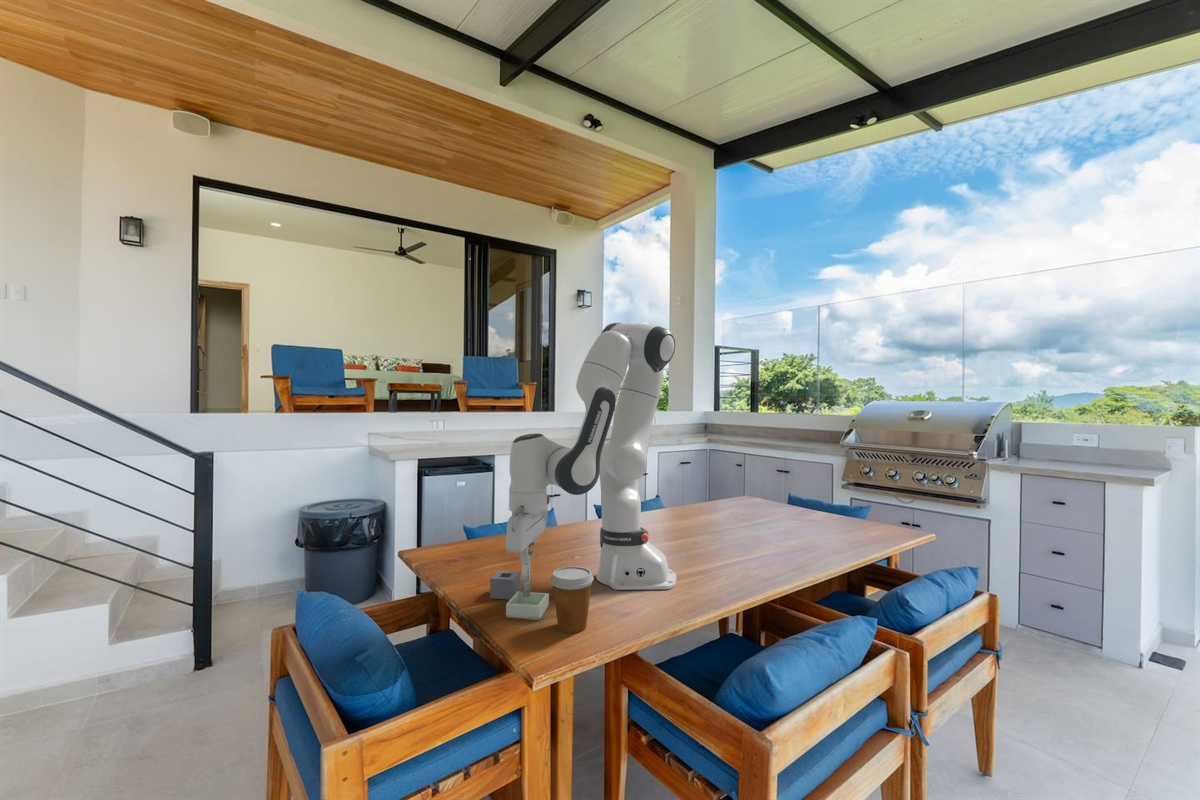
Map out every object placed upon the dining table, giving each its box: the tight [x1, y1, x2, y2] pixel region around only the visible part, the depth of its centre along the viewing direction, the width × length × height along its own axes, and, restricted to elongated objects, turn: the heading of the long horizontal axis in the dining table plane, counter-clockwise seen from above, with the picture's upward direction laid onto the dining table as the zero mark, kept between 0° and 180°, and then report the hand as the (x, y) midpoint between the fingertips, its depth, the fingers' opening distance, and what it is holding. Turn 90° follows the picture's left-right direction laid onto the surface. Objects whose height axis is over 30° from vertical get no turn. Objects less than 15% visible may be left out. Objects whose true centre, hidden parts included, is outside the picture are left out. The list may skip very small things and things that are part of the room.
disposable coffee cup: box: [550, 565, 595, 634], centre depth 111 cm, size 10×10×12 cm
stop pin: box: [521, 544, 535, 598], centre depth 119 cm, size 3×3×12 cm
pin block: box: [489, 570, 522, 601], centre depth 129 cm, size 6×6×5 cm
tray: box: [505, 591, 550, 621], centre depth 119 cm, size 8×8×3 cm
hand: (527, 560), depth 119 cm, fingers closed on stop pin, 2 cm apart
